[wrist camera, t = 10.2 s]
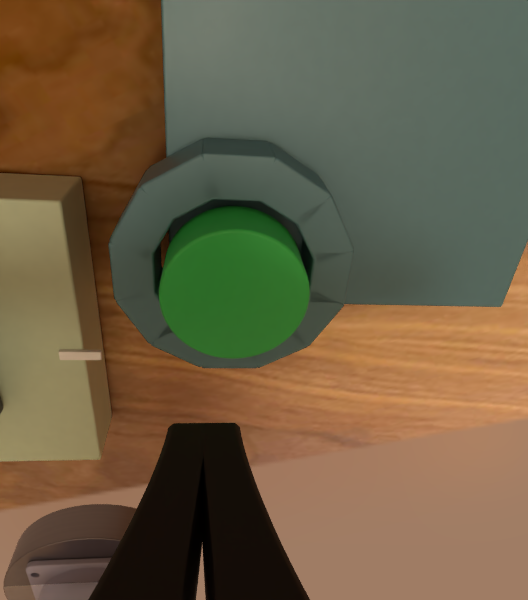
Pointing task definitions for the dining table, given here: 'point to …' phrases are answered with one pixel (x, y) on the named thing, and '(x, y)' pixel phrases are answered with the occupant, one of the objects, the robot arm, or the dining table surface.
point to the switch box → (341, 151)
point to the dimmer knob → (1, 405)
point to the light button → (233, 283)
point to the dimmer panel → (49, 324)
